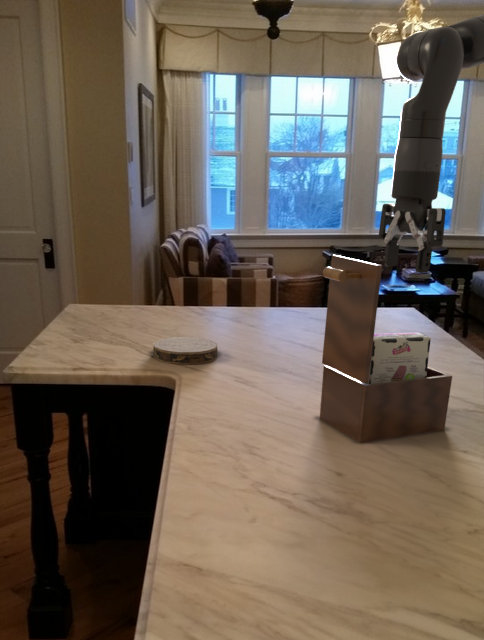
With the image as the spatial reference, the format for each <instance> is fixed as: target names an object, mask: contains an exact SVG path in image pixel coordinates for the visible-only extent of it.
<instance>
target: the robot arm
mask: <svg viewBox="0 0 484 640" xmlns="http://www.w3.org/2000/svg"><path fill="white" fill-rule="evenodd" d="M395 59H396V61H395V63H396V68H397V70H398V73H399V74H400V75H401V76H402V77H403V78H404V79H405V80H407V81H409V82H413V83H420V82H421V84H420V87H419V90H418V93H417V94H416V95H415V96H413V97H411V98H408V99H407V100H406V101H405V102H404V103H403V104H402V106H401V112H400V121H399V131H398V139H397V145H396V149H395V154H394V162H393V163H394V165H393V173H392V183H391V193H390V195H391V198H392V199H395V203H383V204H382V206H381V207H382V208H381V213H380V222H379V230H378V239H379V240H383V241H384V243H385V254H384V266H386V267H396V266H397V265H398V263H399V262H398V261H399V254H400V253H399V252H400V244H399V243H400V241H401V239H402V238H403V236H405V235H406V234H411V236H412V238H413V239H414V240H415V241H416V243H417V247H418V249H417V255H416V264H415V272H416V273H417V274H427V273H428V272H429V270H430V267H431V261H432V253H433V250H434V249H436V248H438V247H439V248H440V247H442V246H443V243H444V234H445V225H446V224H445V223H446V213H447V211H446V208H444V207H433V201H434V200H436V199H437V198H438V194H439V185H440V180H441V179H440V178H441V171H442V163H443V151H444V150H443V147H444V146H443V145H444V144H443V141H444V132H445V124H446V115H447V110H448V107H449V105H450V103H451V100H452V98H453V94H454V92H455V90H456V86H457V84H458V80H459V77H460V75H461V72H462V70H464V69H471V68H474V67H479V66H481V65H484V13H483V14H480V15H476V16H472V17H469V18H466V19H464V20H461V21H459V22H456V23H454V24H449V25H444V26H439V27H435V28H430V29H425V30H421V31H417V32H413V33H412V34H410V35H409V36H407V37H406V38H405V39H404V40H403V41H402V43H401V44H400V46H399V47H398V50H397V53H396V58H395ZM387 226H388V227H387ZM386 230H387V231H386ZM435 232H436V234H435Z"/></svg>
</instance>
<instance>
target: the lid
mask: <svg viewBox="0 0 484 640" xmlns="http://www.w3.org/2000/svg"><path fill="white" fill-rule="evenodd" d="M382 270H383V265H382V264H377V263H373V262H369V261H364V260H360V259H356V258H352V257H351V258H350V257H346V256H342V255H337V254H331V261H330V266H326V267H324V268H323V270H322V276H323V277H324V278H326V279H329V284H328V285H329V286H328V296H327V303H326V316H325V326H324V338H323V347H322V357H321V358H322V359H321V364H322V365H324V366H326V365H327V366H329V367H331V368H333V369H335V370H337V371H339V372H341V373H343V374H345V375H347V376H350V377H352V378H354V379H356V380H358V381H360V382H362V383H364V384H366V383H368V380H369V372H370V364H371V355H372V347H373V338H374V334H375V331H376V330H375V329H376V321H377V313H378V303H379V297H380V296H379V295H380V289H381V288H380V287H381V279H382V272H383V271H382Z"/></svg>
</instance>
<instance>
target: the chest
mask: <svg viewBox="0 0 484 640" xmlns="http://www.w3.org/2000/svg"><path fill="white" fill-rule="evenodd" d="M452 381H453V375H452V374H449V373H446V372H443V371H441V370H439V369H436V368H433V367H431V366H428V367H427V375H426V378H418V379H409V380H401V381H392V382H384V383H375V384H364V383H362V382H360V381H358V380H356V379H354V378H352V377H350V376H347V375H345V374H343V373H341V372H339V371H337V370H335V369H333V368H331V367H329V366H327V365H323V371H322V382H321V383H322V384H321V395H320V408H319V420H322V421H324V422H325V423H326V424H329V425H330V426H332V427H333V428H335V429H337V430H338V431H340V432H342V433H343V434H344V435H346V436H348V437H350V438H352V439H353V440H354V441H356V442H358V443H359V444H362V443H369V442H374V441H381V440H387V439H393V438H400V437H406V436H407V437H408V436H413V435H419V434H420V435H421V434H425V433H432V432H438V431H445V428H446V421H447V417H448V416H447V414H448V408H449V401H450V396H451V388H452Z"/></svg>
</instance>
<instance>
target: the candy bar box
mask: <svg viewBox="0 0 484 640" xmlns="http://www.w3.org/2000/svg"><path fill="white" fill-rule="evenodd" d="M431 339H432V338H431V337H430V336H428V335H426V334H424V333H422V332H395V333H393V332H392V333H374V338H373V347H372V355H371V364H370V372H369V380H368V383H366V384H375V383H384V382H392V381H401V380H409V379H418V378H426V375H427V367H429V357H430V348H431Z"/></svg>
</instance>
